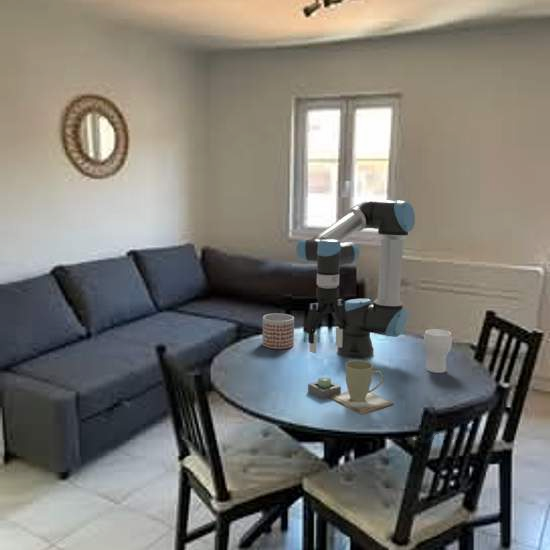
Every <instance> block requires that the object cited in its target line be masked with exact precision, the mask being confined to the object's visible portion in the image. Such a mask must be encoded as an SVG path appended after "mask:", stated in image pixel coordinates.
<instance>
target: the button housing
mask: <svg viewBox="0 0 550 550" xmlns="http://www.w3.org/2000/svg"><path fill="white" fill-rule="evenodd" d="M307 392H308V393H309V394H310V395H313V396H315V397H317V398H318V399H319V400H320V399H321V400H322V401H323V400H326V399H330V398H329V396H332V395H335V394H339V393H342V387H341V385H339V384H337V383H335V382H332V381H331V387H329V388H326V389H322V388H320V387H318V380H317V381H314V382H311V383H307Z"/></svg>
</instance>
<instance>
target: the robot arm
mask: <svg viewBox="0 0 550 550" xmlns="http://www.w3.org/2000/svg"><path fill="white" fill-rule="evenodd" d="M415 221H416V217H415V211H414V207H413V205H412V203H410V202H408V201H405V200H399V199H397V200H395V199H393V200H391V199H369V200H366V201H363V202H360V203H359V204H356V205H354V206H353V207H351V208H349V209H348V210H347V211H346V212H345V214H344V216H342V217H341V218H339V219H338V220H337V221H335V222H334V223H332V224H330V226H328V227H327V228H326V229H323V230H322V231H321V232H320V233H318V234H316V235H315V236H314V237H312V238H310V239H308V238H304V239H300V240H298V242H297V244H296V247H295V252H296V253H295V254H296V256H297V258H298V259H300V260H302V261H306V262H316V263H317V264H316V288H315V289H316V295H315V296H316V298H317V299H316V302H314V303H312V302H310V303H309V304H308V312H307V316H306V319H305V323H304V327H303V330H302V331H303V332H304V333H306V334H307V336H308V337H307V338H308V339H307V342H308V343H309V352H310V353H312V354H317V344H318V343H317V335H318V334H317V333H316V331H317V330H318V328H319V326H320V324H321V321H322V319H323V318H324V317H325V315H328V314H331V315H332V318H333V319H334V322H335V323H336V325H337V326H336V327H335V343H334V344H335V346H336V347H337V348H336V349H337V351H336V353H337V354H338V355H339V356H341V357H344V358H347V359H355V360H358V359H359V360H361V359H367V358H368V359H369V358H371V357H372V356H374V347H373V343H372V338H371V334H375V335H380V336H385V337H392V338H393V337H394V338H397V337H399V336H401V335H402V334H403V332H404V331H405V328H406V325H407V323H408V317H409V315H408V311H407V310H406V309H405V308H403V305H404V304H403V303H404V302H402V301H401V299H400V294H401V293H400V292H401V282H402V268H403V267H402V265H403V254H404V240H405V239H406V238H407V237H408V236H409V232H411V231H412V230H413V229H414V226H415V224H416V222H415ZM366 229H374V230H378V231H377V235H378V237H380V239H381V241H380V242H381V243H380V256H379V273H378V289H377V298H376V299H375V300H373V303H372V299H369V298H355V299H354V298H353V299H348V300H345V299H342V298H339V297H340V287H339V285H340V268H341V266H347V265H351V264H353V263H355V262H357V261H358V259H359V258H360V249H359V247H358V245H357V244H356V243H354V242H351V241H349V242H348V241H345V240H346V239H349V237H351V236H352V235H353V234H354V233H357V232H361V231H363V230H366ZM344 241H345V242H344Z"/></svg>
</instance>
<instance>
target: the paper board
mask: <svg viewBox="0 0 550 550" xmlns="http://www.w3.org/2000/svg"><path fill="white" fill-rule="evenodd" d="M328 399H331V400H333V401H334V402H337V403H338V404H340V405H342V406H345V408H349V409H350V410H352V411H354V412H356V413H357V414H360V415H365V414H368V413H373V412H374V411H378V410H381V409H384V408H387V407H390V406H393V405H394V402H392V401H390V400H388V399H385V398H383V397H381V396H379V395H377V394H375V393H373V392H370V393H367V396H366V398H365V400H364V401H361V402H357V401H353V400H351V398H350V395H349V391H348V390H346V391H343V392H341V393H339V394H335V395H332V396H329V398H328Z"/></svg>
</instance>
